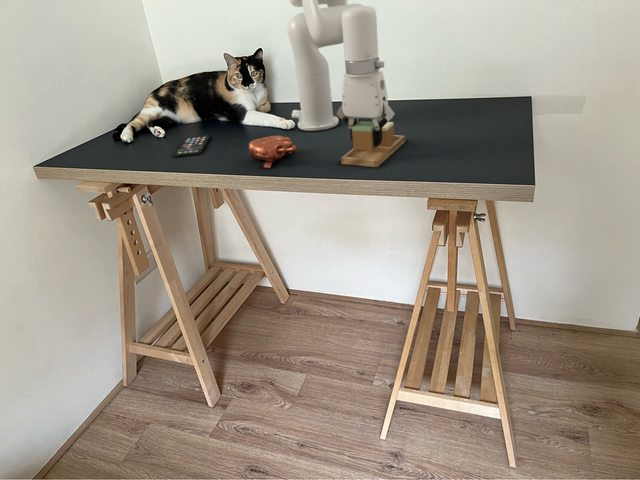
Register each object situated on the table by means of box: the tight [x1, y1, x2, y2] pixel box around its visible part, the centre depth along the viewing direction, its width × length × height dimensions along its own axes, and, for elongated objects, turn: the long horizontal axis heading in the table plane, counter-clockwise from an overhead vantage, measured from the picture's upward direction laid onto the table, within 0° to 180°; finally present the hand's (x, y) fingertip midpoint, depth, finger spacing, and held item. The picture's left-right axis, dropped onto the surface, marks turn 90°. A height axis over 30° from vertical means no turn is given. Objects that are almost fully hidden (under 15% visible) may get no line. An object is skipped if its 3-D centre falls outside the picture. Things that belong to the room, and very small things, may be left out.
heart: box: [248, 135, 298, 169], centre depth 127 cm, size 6×12×15 cm
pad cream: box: [379, 121, 395, 147], centre depth 127 cm, size 5×5×6 cm
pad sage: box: [352, 121, 379, 151], centre depth 119 cm, size 5×5×6 cm
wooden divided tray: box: [340, 134, 406, 168], centre depth 125 cm, size 10×18×2 cm, turn 150°
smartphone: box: [174, 134, 210, 157], centre depth 145 cm, size 7×1×15 cm
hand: (366, 143), depth 120 cm, fingers closed on pad sage, 5 cm apart
